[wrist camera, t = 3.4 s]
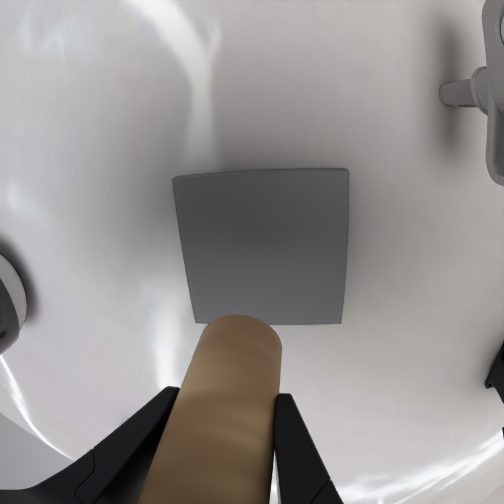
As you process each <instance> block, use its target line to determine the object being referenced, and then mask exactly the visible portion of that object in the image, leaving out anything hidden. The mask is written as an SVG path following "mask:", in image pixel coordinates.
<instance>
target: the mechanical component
mask: <svg viewBox="0 0 504 504" xmlns="http://www.w3.org/2000/svg"><path fill="white" fill-rule="evenodd" d="M482 25H483V32H484V41H485V50H486V62H487V66H484V67H480V68H478V69H476V70H475V72H474V73H473V75H472V78H471V79H468V80H462V81H456V82H450V83H446V84H443V85H442V86H441V87H440V89H439V96H440V99H441V101H442V102H443V103H444V104H446V105H453V106H454V107H478V108H479V109H480V110H481V111H482V112H483V113H484V114H486V115H487V116H488V124H487V143H486V164H487V169H488V172H489V174H490V177H491V178H492V180H493V181H494V182H495V183H497V184H499V185H502V186H504V0H486V2H485V4H484V6H483V10H482Z"/></svg>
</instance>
